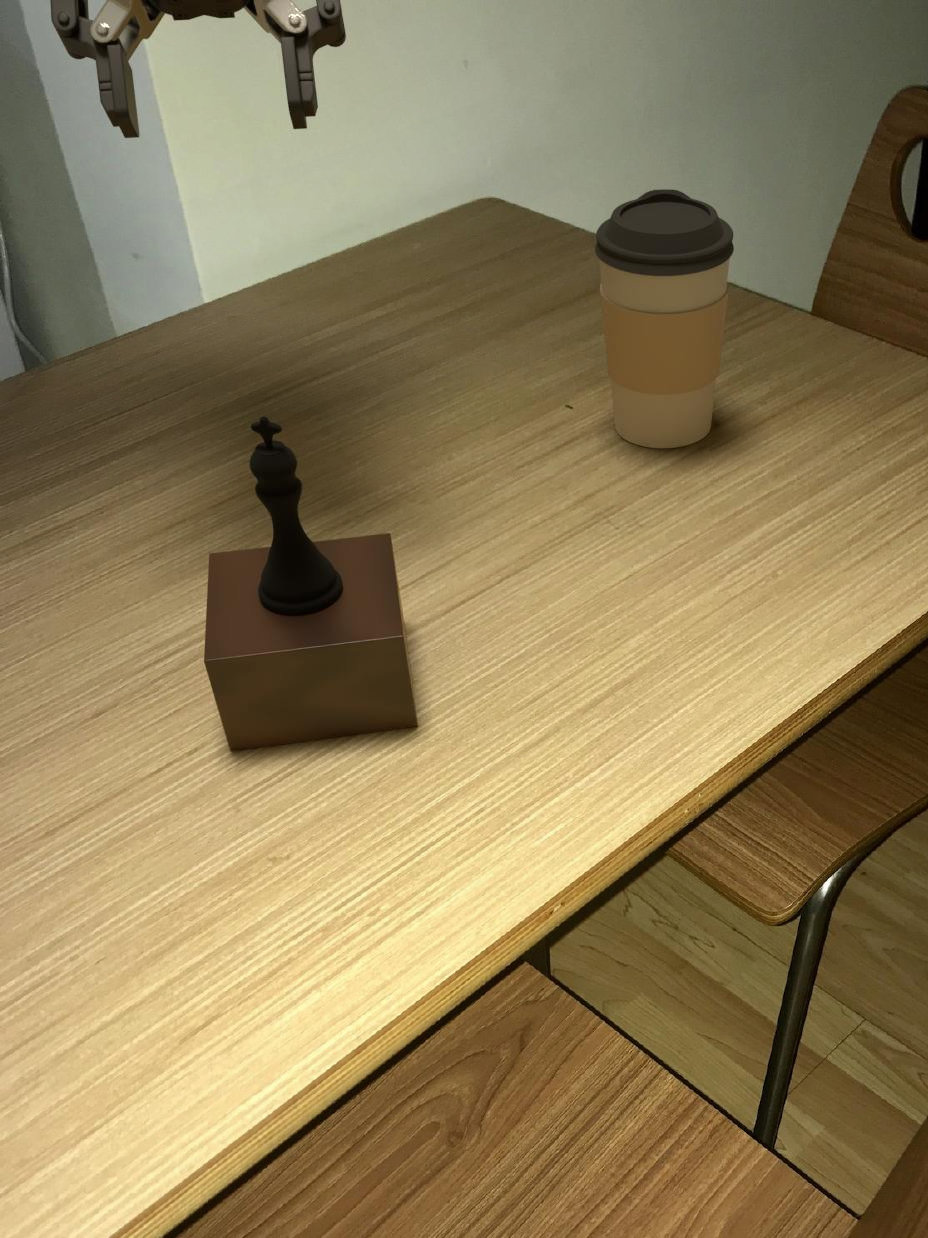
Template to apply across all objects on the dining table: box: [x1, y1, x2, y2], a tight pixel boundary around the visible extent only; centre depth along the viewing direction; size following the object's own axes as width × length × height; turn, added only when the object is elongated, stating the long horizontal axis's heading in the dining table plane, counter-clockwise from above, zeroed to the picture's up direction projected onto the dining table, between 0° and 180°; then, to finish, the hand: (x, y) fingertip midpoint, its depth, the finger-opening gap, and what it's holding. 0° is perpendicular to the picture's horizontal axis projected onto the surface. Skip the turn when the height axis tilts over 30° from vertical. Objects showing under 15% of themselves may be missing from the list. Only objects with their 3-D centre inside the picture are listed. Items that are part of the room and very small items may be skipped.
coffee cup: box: [594, 188, 735, 449], centre depth 90 cm, size 9×9×15 cm
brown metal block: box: [203, 532, 419, 752], centre depth 73 cm, size 10×10×6 cm
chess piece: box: [248, 415, 343, 615], centre depth 67 cm, size 4×4×10 cm
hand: (214, 125), depth 68 cm, fingers open, 8 cm apart
